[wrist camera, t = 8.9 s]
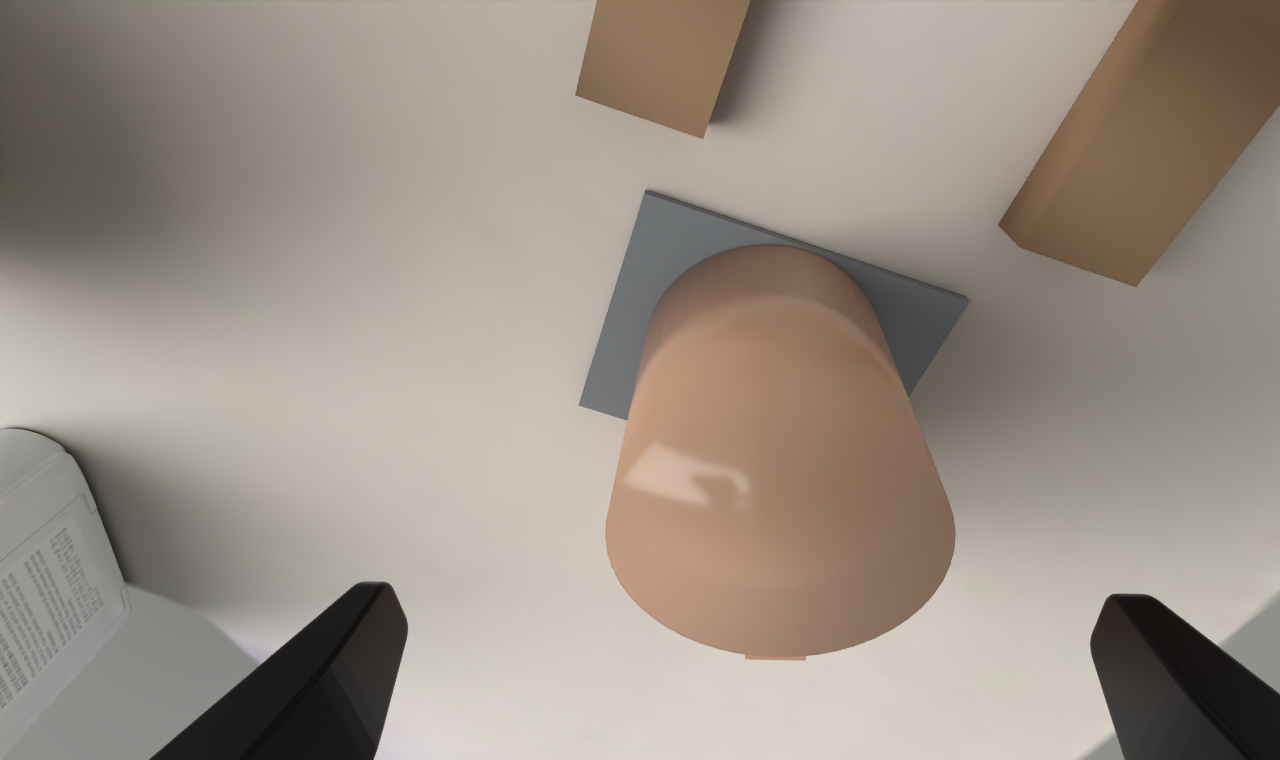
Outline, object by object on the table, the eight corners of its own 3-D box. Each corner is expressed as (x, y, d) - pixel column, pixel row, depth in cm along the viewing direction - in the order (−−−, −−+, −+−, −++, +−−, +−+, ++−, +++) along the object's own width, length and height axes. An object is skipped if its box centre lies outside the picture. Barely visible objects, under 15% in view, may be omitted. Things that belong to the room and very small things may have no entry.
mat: (645, 189, 18) (644, 193, 17) (966, 296, 18) (969, 301, 18) (580, 400, 21) (578, 405, 21) (847, 482, 22) (848, 488, 22)
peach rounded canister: (630, 254, 18) (578, 419, 12) (887, 234, 17) (977, 403, 11) (668, 522, 23) (646, 734, 17) (868, 519, 22) (922, 744, 16)
